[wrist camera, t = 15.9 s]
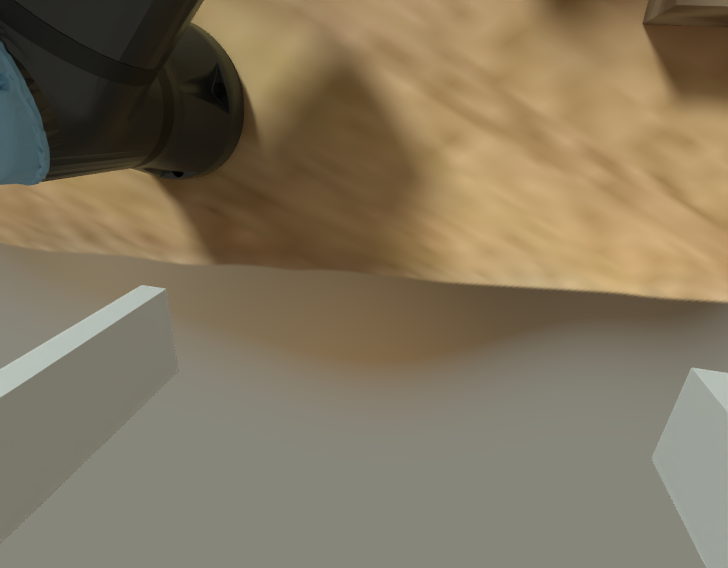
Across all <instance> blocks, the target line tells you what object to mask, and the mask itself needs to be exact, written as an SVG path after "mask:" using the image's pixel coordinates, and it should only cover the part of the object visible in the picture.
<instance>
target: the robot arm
mask: <svg viewBox="0 0 728 568" xmlns="http://www.w3.org/2000/svg"><path fill="white" fill-rule="evenodd" d="M203 1H204V0H0V185H4V184H23V185H35V184H38V183H39V182H44V181H50V180H57V179H63V178H70V177H76V176H83V175H89V174H96V173H103V172H109V171H116V170H123V169H129V168H132V169H135V170H138V171H141V172H145V173H148V174H151V175H154V176H158V177H161V178H166V179H188V178H193V177H198V176H202V175H206V174H208V173H210V172H212V171H214V170H215V169H217V168H218V167H220V166H221V165H222V164H223V163H224V162H225V161H226V160H227V159H228V158H229V156H230V155H231V154H232V152H233V150H234V149H235V147H236V145H237V142H238V140H239V137H240V134H241V130H242V125H243V116H244V104H243V95H242V90H241V85H240V82H239V78H238V75H237V73H236V70H235V68H234V66H233V64H232V62H231V60H230V58H229V57H228V55H227V54H226V52H225V51H224V49H223V48H222V47H221V45H220V44H219V43H218V42H217V41H216V40H215V39H214V38H213V37H212V36H211V35H210V34H209V33H207V32H206V31H205V30H203V29H202V28H200V27H199V26H197V25H195V24H193V23H191V21H192V19H193V17H194V16H195V14H196V12H197V11H198V9H199V8H200V6H201V4H202V3H203ZM178 371H179V369H178V363H177V356H176V350H175V343H174V337H173V330H172V324H171V317H170V311H169V304H168V297H167V292H166V289H164V288H157V287H150V286H144V285H141V286H139V287H138V288H136V289H134V290H133V291H131V292H129V293H128V294H126V295H124V296H122V297H121V298H119V299H117V300H116V301H114V302H112V303H111V304H109V305H108V306H106V307H104V308H102V309H101V310H99V311H97V312H96V313H94V314H93V315H90V316H89V317H87V318H85V319H84V320H82V321H80V322H79V323H77V324H76V325H74V326H72V327H70V328H69V329H67V330H65V331H64V332H62V333H60V334H59V335H57V336H55V337H54V338H52V339H50V340H48V341H47V342H46V343H44V344H42V345H40V346H39V347H37V348H35V349H33V350H32V351H30V352H28V353H27V354H25V355H23V356H22V357H20V358H18V359H17V360H15V361H13V362H12V363H10V364H9V365H6V366H5V367H3V368H1V369H0V544H1V543H2V542H3V541H4V540H5V539H6V538H7V537H8V536H9V535H11V534H12V532H13V531H15V530H16V529H17V528H18V527H19V526H20V525H21V524H22V523H23V522H24V521H25V520H26V519H27V518H28V517H29V516H30V515H31V514H32V513H33V512H34V511H35V510H36V509H37V508H38V507H39V506H40V505H41V504H42V503H43V502H44V501H46V499H47V498H49V497H50V496H51V495H52V493H54V492H55V491H56V490H57V489H58V488H59V487H60V486H61V485H62V484H63V483H64V482H65V481H66V480H67V479H68V478H69V477H70V476H71V475H72V474H73V473H74V472H75V471H76V470H77V469H78V468H79V467H81V466H82V465H83V464H84V462H86V461H87V460H88V459H89V458H90V457H91V456H92V455H93V454H94V453H95V452H96V451H97V450H98V449H99V448H100V447H101V446H102V445H103V444H104V443H105V442H106V441H107V440H108V439H109V438H110V437H111V436H112V435H113V434H114V433H116V431H118V430H119V429H120V428H121V427H122V426H123V425H124V424H125V423H126V422H127V421H128V420H129V419H130V418H131V417H132V416H133V415H134V414H135V413H136V412H137V411H138V410H139V409H140V408H141V407H142V406H143V405H144V404H145V403H146V402H148V400H150V399H151V398H152V397H153V396H154V395H155V393H157V392H158V391H159V390H160V389H161V388H162V387H163V386H164V385H165V384H166V383H167V382H168V381H169V380H170V379H171V378H172V377H173V376H174V375H175V374H176V373H177V372H178ZM652 461H653V463H654V465H655V467H656V469H657V471H658V473H659V475H660V477H661V479H662V481H663V483H664V485H665V487H666V489H667V491H668V493H669V495H670V497H671V498H672V501H673V503H674V505H675V507H676V509H677V511H678V513H679V515H680V517H681V519H682V520H683V523H684V524H685V527H686V529H687V530H688V532H689V535H690V536H691V538H692V540H693V542H694V544H695V546H696V548H697V550H698V552H699V554H700V556H701V558H702V560H703V562H704V564H705V566H706V568H728V373H723V372H717V371H710V370H703V369H697V368H691V370H690V372H689V374H688V377H687V379H686V381H685V383H684V386H683V388H682V390H681V392H680V395H679V397H678V400H677V402H676V404H675V406H674V409H673V411H672V413H671V415H670V418H669V420H668V422H667V425H666V427H665V429H664V431H663V434H662V436H661V438H660V440H659V443H658V445H657V447H656V449H655V452H654V454H653V456H652Z"/></svg>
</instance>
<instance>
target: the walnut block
mask: <svg viewBox="0 0 728 568" xmlns="http://www.w3.org/2000/svg"><path fill="white" fill-rule="evenodd" d="M643 24H659V25H687V26H715V27H728V0H649V2H648V6H647V10H646V13H645V17H644V21H643Z"/></svg>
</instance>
